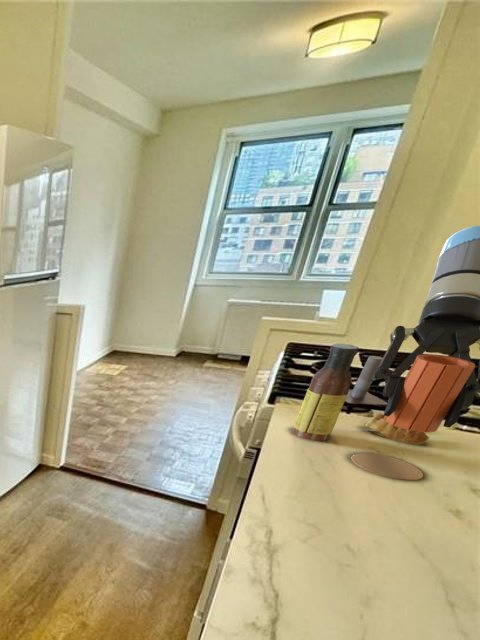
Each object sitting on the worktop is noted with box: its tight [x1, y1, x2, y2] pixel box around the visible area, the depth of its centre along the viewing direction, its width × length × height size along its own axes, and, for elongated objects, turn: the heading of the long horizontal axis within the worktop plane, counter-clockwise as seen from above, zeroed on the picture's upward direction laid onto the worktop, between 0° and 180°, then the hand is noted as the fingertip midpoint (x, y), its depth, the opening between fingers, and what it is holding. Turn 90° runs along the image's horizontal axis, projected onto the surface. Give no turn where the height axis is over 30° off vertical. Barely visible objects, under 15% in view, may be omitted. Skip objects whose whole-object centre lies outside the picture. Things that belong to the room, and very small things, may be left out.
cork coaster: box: [350, 452, 424, 481], centre depth 92 cm, size 10×10×1 cm
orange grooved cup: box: [384, 353, 476, 434], centre depth 85 cm, size 7×7×12 cm
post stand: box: [345, 355, 388, 406], centre depth 117 cm, size 9×9×12 cm
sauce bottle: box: [293, 343, 360, 442], centre depth 100 cm, size 6×6×20 cm
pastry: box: [365, 413, 430, 446], centre depth 102 cm, size 9×7×4 cm
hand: (419, 418), depth 84 cm, fingers closed on orange grooved cup, 7 cm apart
